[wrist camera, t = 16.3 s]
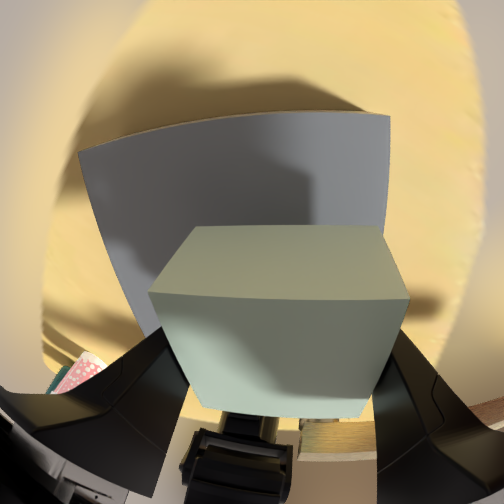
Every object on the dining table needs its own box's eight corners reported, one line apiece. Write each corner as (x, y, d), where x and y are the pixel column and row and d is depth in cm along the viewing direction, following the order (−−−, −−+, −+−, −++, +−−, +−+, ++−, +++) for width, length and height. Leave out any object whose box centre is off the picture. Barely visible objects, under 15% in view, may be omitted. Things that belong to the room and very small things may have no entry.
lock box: (342, 354, 20) (344, 394, 17) (183, 343, 23) (168, 378, 20) (366, 111, 11) (390, 115, 8) (121, 136, 14) (77, 152, 11)
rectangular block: (354, 348, 11) (358, 417, 8) (223, 343, 12) (202, 407, 9) (377, 225, 8) (410, 298, 5) (195, 226, 9) (147, 291, 6)
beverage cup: (93, 370, 33) (54, 439, 22) (71, 344, 30) (24, 417, 19) (120, 379, 32) (80, 457, 20) (98, 351, 29) (48, 435, 17)
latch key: (301, 389, 17) (293, 461, 12) (304, 371, 16) (297, 451, 11) (491, 374, 14) (506, 425, 9) (505, 356, 13) (524, 410, 8)
